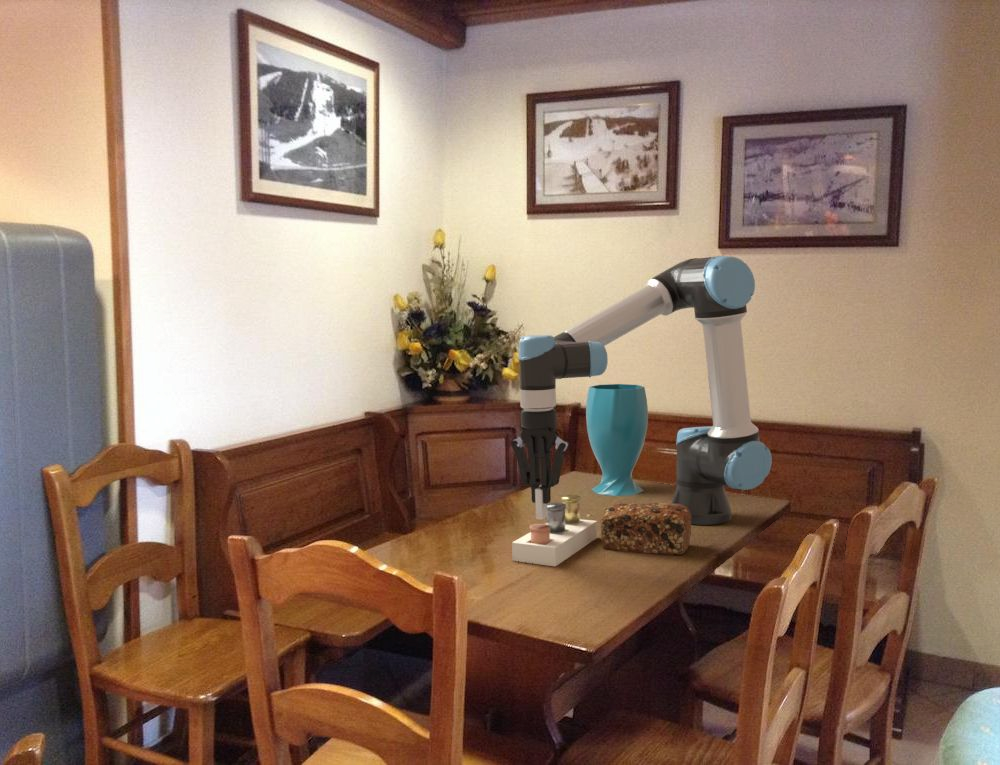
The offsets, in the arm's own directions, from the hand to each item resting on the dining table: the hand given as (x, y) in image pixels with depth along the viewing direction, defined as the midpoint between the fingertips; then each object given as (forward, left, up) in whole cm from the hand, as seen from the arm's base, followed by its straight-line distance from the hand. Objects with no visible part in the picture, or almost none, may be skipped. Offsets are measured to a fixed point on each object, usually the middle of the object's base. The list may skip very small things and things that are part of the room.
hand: (541, 517), depth 189 cm
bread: (-17, -18, -9) cm, 26 cm away
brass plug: (0, -17, -5) cm, 17 cm away
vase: (+8, -70, -9) cm, 71 cm away
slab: (0, -8, -9) cm, 12 cm away
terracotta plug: (0, 0, -8) cm, 8 cm away
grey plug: (0, -8, -5) cm, 9 cm away
